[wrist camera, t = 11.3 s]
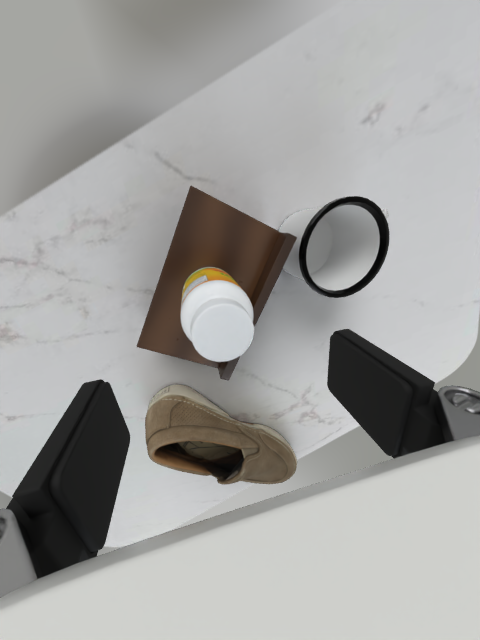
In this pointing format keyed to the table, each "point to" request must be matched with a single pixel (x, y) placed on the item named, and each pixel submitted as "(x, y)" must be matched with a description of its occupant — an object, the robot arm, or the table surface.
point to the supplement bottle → (216, 315)
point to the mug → (338, 245)
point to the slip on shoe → (213, 440)
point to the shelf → (212, 251)
